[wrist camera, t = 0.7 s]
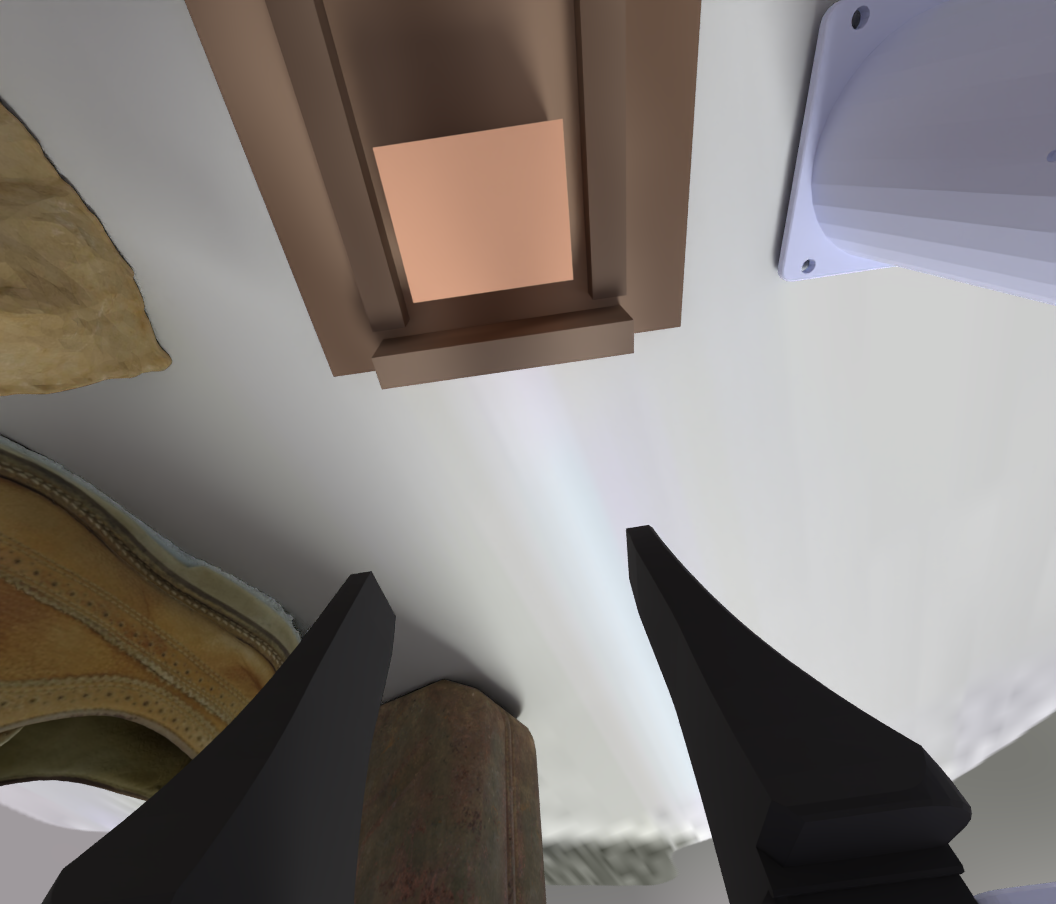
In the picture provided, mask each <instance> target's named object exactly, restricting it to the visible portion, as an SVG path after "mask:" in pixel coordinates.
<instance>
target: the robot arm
mask: <svg viewBox="0 0 1056 904" xmlns="http://www.w3.org/2000/svg"><path fill="white" fill-rule="evenodd" d="M856 10H858V11H859V12H860V14H861V16H860V22H859V25H858V27H857V28H856V29H854V28H853V27H852V17H853V14H854V12H855V11H856ZM806 260H809V266H808V267H807V268H806V269H805V270H804V271H802V265H803V263H804V262H805V261H806ZM895 266H898V267H902V268H906V269H910V270H914V271H918V272H922V273H926V274H930V275H934V276H938V277H942V278H946V279H950V280H954V281H958V282H962V283H966V284H970V285H974V286H978V287H982V288H986V289H990V290H995V291H999V292H1003V293H1007V294H1011V295H1015V296H1019V297H1023V298H1027V299H1031V300H1035V301H1039V302H1043V303H1047V304H1051V305H1055V306H1056V0H840V1H838V2H836V3H834V4H833V5H832V6H831V7H830V8H828V9H827V11H826V13H825V14H824V16H823V18H822V21H821V24H820V28H819V34H818V40H817V45H816V51H815V57H814V63H813V69H812V74H811V80H810V86H809V92H808V97H807V103H806V109H805V115H804V120H803V126H802V132H801V138H800V143H799V149H798V155H797V161H796V167H795V172H794V178H793V184H792V190H791V195H790V201H789V207H788V213H787V218H786V224H785V230H784V236H783V241H782V247H781V253H780V259H779V264H778V275H779V276H780V278H782V279H783V280H786V281H799V280H806V279H812V278H819V277H826V276H833V275H840V274H847V273H854V272H861V271H867V270H874V269H881V268H888V267H895ZM626 536H627V552H628V568H629V580H630V584H631V587H632V591H633V595H634V598H635V602H636V606H637V609H638V613H639V616H640V618H641V621H642V623H643V626H644V628H645V631H646V634H647V636H648V639H649V641H650V644H651V646H652V649H653V652H654V654H655V657H656V659H657V662H658V664H659V667H660V669H661V672H662V674H663V677H664V680H665V682H666V685H667V687H668V690H669V692H670V695H671V698H672V701H673V704H674V707H675V709H676V713H677V716H678V719H679V723H680V726H681V729H682V733H683V736H684V740H685V743H686V746H687V750H688V753H689V757H690V760H691V764H692V767H693V771H694V774H695V778H696V781H697V785H698V788H699V792H700V795H701V799H702V802H703V806H704V810H705V813H706V817H707V820H708V824H709V828H710V831H711V835H712V839H713V842H714V846H715V850H716V853H717V857H718V861H719V865H720V868H721V872H722V876H723V880H724V883H725V887H726V891H727V895H728V899H729V903H730V904H1056V882H1050V883H1043V884H1035V885H1027V886H1020V887H1012V888H1004V889H997V890H992V891H987V892H984V893H980V894H977V895H975V896H973V895H972V893H971V892H970V890H969V889H968V887H967V886H966V884H965V883H964V881H963V880H962V878H961V876H960V875H959V874H962V873H963V872H964V869H963V865H962V864H961V862H960V861H959V859H958V858H957V856H956V855H955V853H954V852H953V850H952V849H951V847H950V846H949V844H948V843H949V842H950V841H951V840H952V839H953V838H954V837H955V836H956V835H957V834H958V833H960V831H962V830H963V829H964V828H965V827H966V826H967V824H968V822H969V821H970V820H971V815H972V813H971V807H970V805H969V804H968V802H967V801H966V800H965V798H964V797H963V796H962V795H961V793H960V792H959V790H958V789H957V788H956V786H955V785H954V784H953V782H952V781H951V780H950V778H949V777H948V776H947V775H946V774H945V772H944V771H943V770H942V769H941V768H940V767H939V765H938V764H937V763H936V762H935V761H934V760H933V759H932V758H931V756H930V755H929V754H928V753H927V752H926V751H925V750H924V748H923V747H922V746H921V745H919V744H917V743H916V742H914V741H912V740H910V739H909V738H907V737H905V736H904V735H902V734H900V733H898V732H897V731H895V730H893V729H892V728H890V727H888V726H887V725H885V724H883V723H882V722H880V721H878V720H877V719H875V718H874V717H872V716H870V715H869V714H867V713H865V712H864V711H862V710H861V709H859V708H858V707H856V706H854V705H853V704H851V703H850V702H848V701H847V700H845V699H844V698H842V697H841V696H839V695H838V694H836V693H835V692H833V691H831V690H830V689H828V688H827V687H826V686H824V685H823V684H821V683H820V682H819V681H817V680H816V679H814V678H813V677H812V676H810V675H809V674H807V673H806V672H804V671H803V670H802V669H800V668H799V667H797V666H796V665H795V664H793V663H792V662H790V661H789V660H788V659H786V658H785V657H784V656H782V655H781V654H780V653H778V652H777V651H776V650H775V649H773V648H772V647H771V646H770V645H768V644H767V643H766V642H764V641H763V640H762V639H761V638H759V637H758V636H757V635H756V634H755V633H753V632H752V631H751V630H750V629H749V628H747V627H746V626H745V625H744V624H743V623H742V622H740V621H739V620H738V619H737V618H736V617H735V616H734V615H733V614H732V613H730V612H729V611H728V610H727V609H726V608H725V607H724V606H723V605H722V604H721V603H720V602H719V601H718V600H717V599H715V598H714V597H713V596H712V595H711V594H710V593H709V592H708V591H707V590H706V589H705V588H704V587H703V586H702V585H701V584H700V583H699V582H698V580H697V579H696V578H695V577H694V576H693V575H692V574H691V573H690V572H689V571H688V570H687V569H686V568H685V567H684V566H683V565H682V563H681V562H680V561H679V560H678V559H677V558H676V557H675V555H674V554H673V553H672V552H671V551H670V550H669V548H668V547H667V546H666V545H665V544H664V542H663V541H662V540H661V539H660V537H659V536H658V535H657V533H656V532H655V531H654V529H653V528H652V527H651V526H649V525H645V526H639V527H633V528H627V529H626ZM395 618H396V616H395V614H394V612H393V611H392V609H391V607H390V605H389V603H388V601H387V599H386V597H385V596H384V594H383V592H382V590H381V588H380V586H379V584H378V583H377V581H376V579H375V577H374V575H373V573H372V571H369V572H364V573H358V574H352V575H350V576H349V577H348V579H347V580H346V581H345V583H344V584H343V585H342V587H341V588H340V589H339V591H338V592H337V593H336V595H335V596H334V597H333V599H332V600H331V602H330V603H329V604H328V606H327V607H326V608H325V610H324V611H323V612H322V614H321V615H320V616H319V618H318V619H317V621H316V622H315V623H314V625H313V626H312V627H311V628H310V630H309V631H308V632H307V634H306V635H305V636H304V638H303V639H302V640H301V642H300V643H299V644H298V646H297V647H296V648H295V649H294V650H293V652H292V653H291V654H290V655H289V657H288V658H287V659H286V660H285V661H284V663H283V664H282V665H281V666H280V668H279V669H278V670H277V671H276V672H275V674H274V675H273V676H272V677H271V679H270V680H269V681H268V682H267V683H266V684H265V686H264V687H263V688H262V689H261V690H260V691H259V692H258V693H257V695H256V696H255V697H254V698H253V699H252V700H251V701H250V702H249V703H248V704H247V706H246V707H245V708H244V709H243V710H242V711H241V712H240V713H239V714H238V715H237V716H236V717H235V718H234V719H233V720H232V722H231V723H230V724H229V725H228V726H227V727H226V728H225V729H224V730H223V731H222V732H221V733H220V734H218V735H217V736H216V737H215V738H214V739H213V740H212V741H211V742H210V743H209V744H208V745H207V746H206V747H205V748H204V749H203V750H202V751H201V752H200V753H199V754H198V755H197V756H196V757H195V758H194V759H193V760H192V761H191V762H190V763H189V764H188V765H187V766H185V767H184V768H183V769H182V770H181V771H180V772H179V773H178V774H177V775H176V776H174V777H173V778H172V779H171V780H170V781H169V782H168V783H167V784H166V785H164V786H163V787H162V788H161V789H160V790H159V791H158V792H156V793H155V794H154V795H153V796H152V797H151V798H150V799H148V800H147V801H146V802H145V803H144V804H143V805H141V806H140V807H139V808H138V809H137V810H136V811H134V812H133V813H132V814H131V815H130V816H128V817H127V818H126V819H125V820H124V821H122V822H121V823H120V824H119V825H117V826H116V827H115V828H114V829H113V830H111V831H110V832H109V833H108V834H106V835H105V836H104V837H103V838H101V839H100V840H99V841H98V842H96V843H95V844H94V845H93V846H91V847H90V848H89V849H88V850H86V851H85V852H84V853H83V854H81V855H80V856H79V857H78V858H76V859H75V860H74V861H72V862H71V863H70V864H69V865H67V866H66V867H65V868H63V870H62V871H61V873H60V874H59V876H58V878H57V879H56V881H55V883H54V884H53V886H52V887H51V889H50V891H49V892H48V894H47V895H46V897H45V899H44V900H43V902H42V904H354V895H355V882H356V871H357V859H358V847H359V837H360V828H361V819H362V810H363V801H364V793H365V785H366V778H367V770H368V763H369V756H370V750H371V745H372V740H373V735H374V731H375V726H376V722H377V718H378V713H379V709H380V705H381V700H382V696H383V692H384V687H385V683H386V678H387V674H388V669H389V665H390V660H391V655H392V649H393V640H394V630H395Z"/></svg>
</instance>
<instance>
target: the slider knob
mask: <svg viewBox="0 0 1056 904" xmlns="http://www.w3.org/2000/svg"><path fill="white" fill-rule="evenodd" d="M373 151H374V155H375V159H376V163H377V166H378V170H379V174H380V178H381V182H382V185H383V189H384V193H385V197H386V200H387V204H388V208H389V212H390V216H391V219H392V223H393V227H394V231H395V235H396V238H397V242H398V246H399V250H400V254H401V257H402V261H403V265H404V269H405V273H406V276H407V280H408V284H409V288H410V292H411V295H412V299H413V303H417V302H424V301H431V300H438V299H444V298H451V297H458V296H465V295H472V294H478V293H485V292H492V291H499V290H506V289H512V288H519V287H526V286H533V285H540V284H547V283H553V282H560V281H567V280H573V266H572V251H571V236H570V221H569V206H568V191H567V176H566V161H565V146H564V131H563V119H558V120H551V121H544V122H538V123H531V124H525V125H518V126H512V127H505V128H499V129H492V130H485V131H479V132H472V133H466V134H459V135H453V136H446V137H440V138H433V139H426V140H420V141H413V142H407V143H400V144H394V145H387V146H381V147H374V148H373Z"/></svg>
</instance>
